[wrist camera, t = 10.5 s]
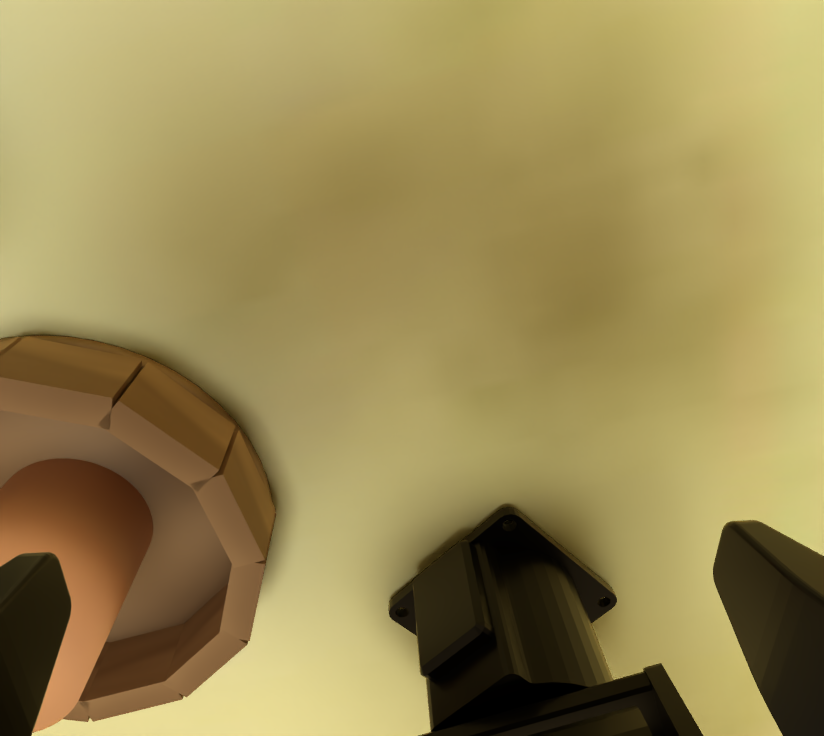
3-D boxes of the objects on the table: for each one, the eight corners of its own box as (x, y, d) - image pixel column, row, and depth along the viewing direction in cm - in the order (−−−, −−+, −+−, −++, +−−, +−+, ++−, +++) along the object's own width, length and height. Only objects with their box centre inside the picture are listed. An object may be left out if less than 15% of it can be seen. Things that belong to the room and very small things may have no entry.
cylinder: (138, 455, 21) (57, 592, 15) (164, 574, 23) (101, 731, 18) (-22, 461, 21) (-161, 602, 15) (20, 581, 23) (-90, 742, 17)
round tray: (349, 497, 23) (346, 558, 20) (133, 692, 26) (105, 767, 23) (10, 247, 18) (-55, 280, 16) (-195, 521, 22) (-278, 587, 19)
